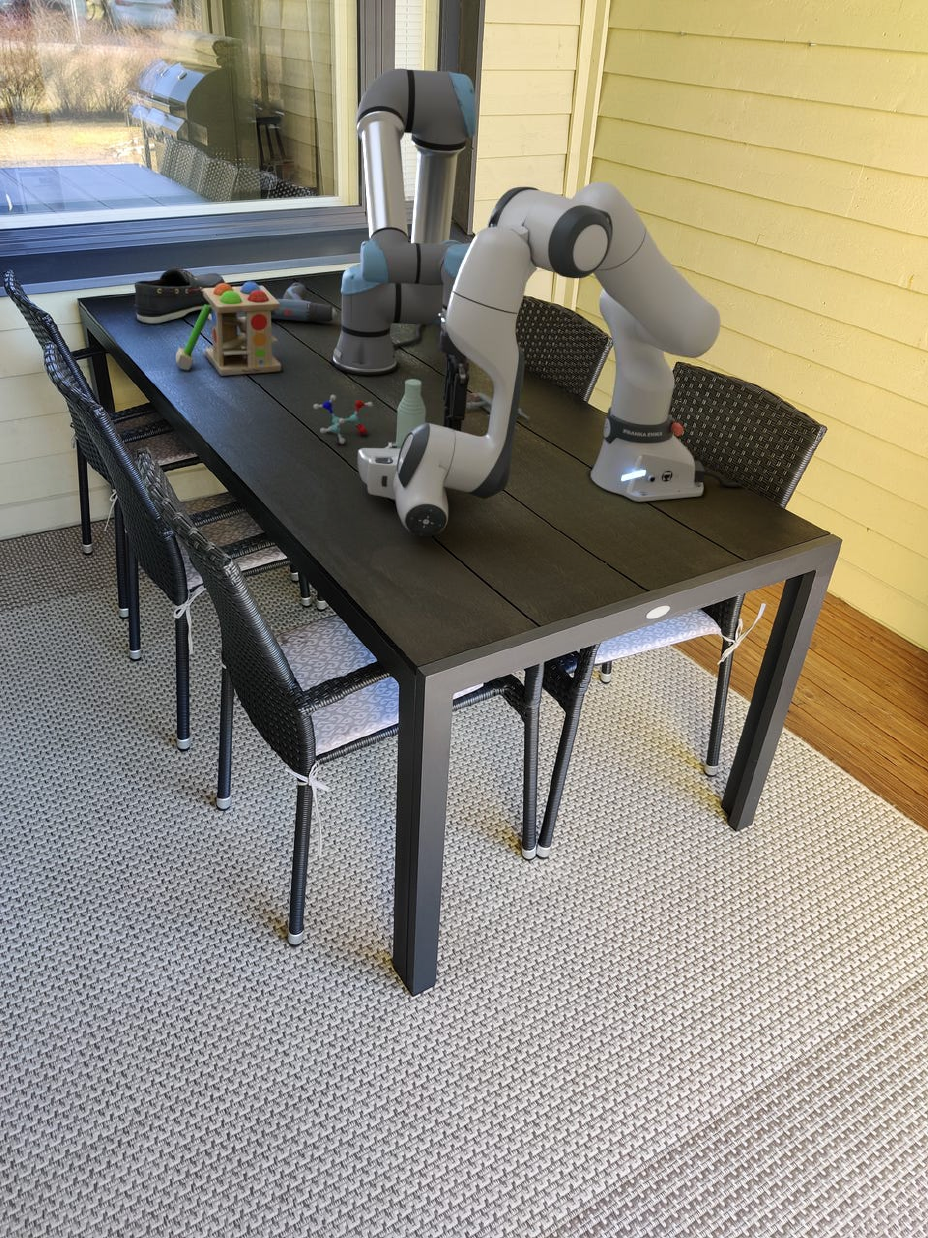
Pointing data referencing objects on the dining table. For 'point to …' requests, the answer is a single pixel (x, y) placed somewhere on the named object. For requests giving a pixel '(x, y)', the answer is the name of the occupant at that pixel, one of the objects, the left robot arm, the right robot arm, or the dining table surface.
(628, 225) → the right robot arm
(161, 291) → the boat shoe
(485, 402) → the clamp
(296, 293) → the power drill
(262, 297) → the pounding bench toy
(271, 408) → the dining table surface
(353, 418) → the molecular model
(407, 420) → the bottle
